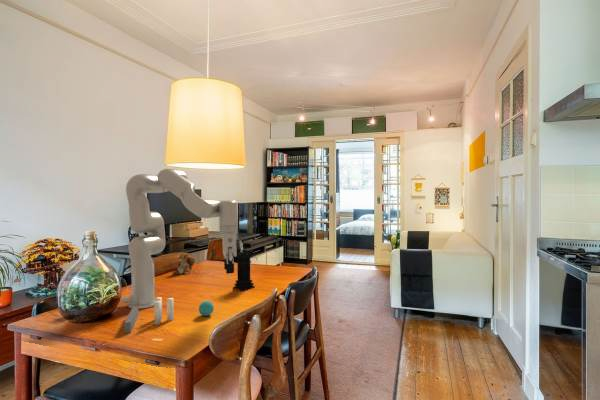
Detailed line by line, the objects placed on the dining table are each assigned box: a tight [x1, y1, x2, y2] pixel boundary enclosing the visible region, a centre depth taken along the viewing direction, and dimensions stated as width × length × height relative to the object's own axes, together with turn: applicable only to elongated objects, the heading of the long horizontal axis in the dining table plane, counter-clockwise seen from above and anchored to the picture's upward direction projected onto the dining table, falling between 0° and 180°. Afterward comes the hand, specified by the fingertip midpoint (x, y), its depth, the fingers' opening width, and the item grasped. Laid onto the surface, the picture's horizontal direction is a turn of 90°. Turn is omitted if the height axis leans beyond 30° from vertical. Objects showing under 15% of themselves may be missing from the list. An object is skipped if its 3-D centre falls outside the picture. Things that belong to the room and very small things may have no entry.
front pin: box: [166, 297, 175, 322], centre depth 133 cm, size 2×2×8 cm
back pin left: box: [155, 296, 163, 320], centre depth 134 cm, size 2×2×8 cm
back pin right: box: [153, 301, 162, 326], centre depth 129 cm, size 2×2×8 cm
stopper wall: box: [123, 306, 139, 334], centre depth 128 cm, size 2×18×4 cm, turn 18°
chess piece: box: [233, 249, 255, 291], centre depth 178 cm, size 8×8×20 cm
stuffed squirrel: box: [172, 252, 196, 276], centre depth 214 cm, size 10×14×13 cm
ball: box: [198, 300, 215, 317], centre depth 137 cm, size 6×6×6 cm
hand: (229, 270), depth 140 cm, fingers open, 7 cm apart
